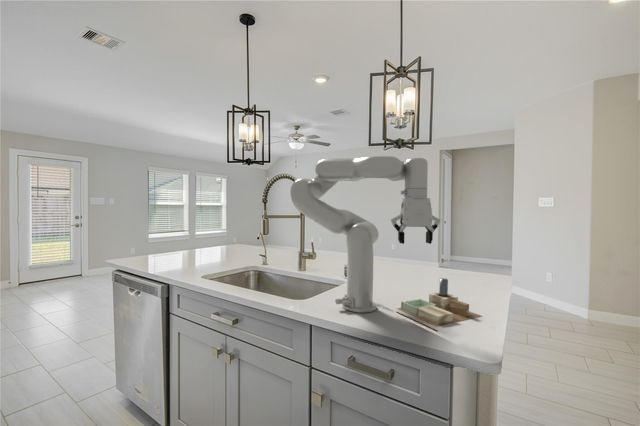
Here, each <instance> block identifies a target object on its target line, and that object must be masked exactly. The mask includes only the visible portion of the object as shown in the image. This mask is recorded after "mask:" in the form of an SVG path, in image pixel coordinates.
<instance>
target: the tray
mask: <svg viewBox="0 0 640 426" xmlns="http://www.w3.org/2000/svg"><path fill="white" fill-rule="evenodd" d="M430 306H435V307H437V305H436V304H433V303H430V302H429V300H428V301H427V300H426V299H425V300H424V299H422V298H417V299H411V300H410V299H409V300H403V301H401V304H400V308H401V309H403V310H405V311H407V312H410V313H412V314H414V315H416V316H418V309H419V308H424V307H430Z"/></svg>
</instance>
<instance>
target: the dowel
mask: <svg viewBox="0 0 640 426" xmlns="http://www.w3.org/2000/svg"><path fill="white" fill-rule="evenodd" d="M448 288H449V280H448V278H444V277H443V278H439V292H438V293H439V296H441V297H447V296H448V294H449V289H448Z"/></svg>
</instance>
